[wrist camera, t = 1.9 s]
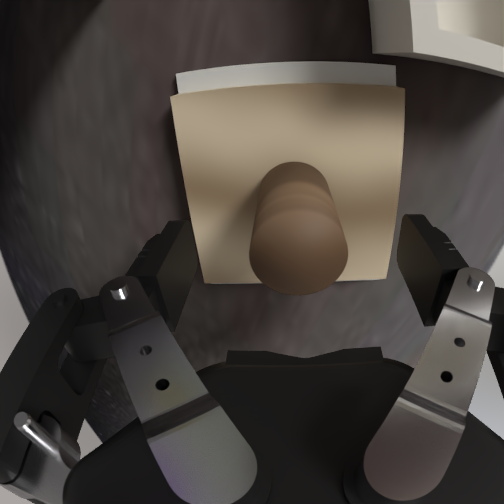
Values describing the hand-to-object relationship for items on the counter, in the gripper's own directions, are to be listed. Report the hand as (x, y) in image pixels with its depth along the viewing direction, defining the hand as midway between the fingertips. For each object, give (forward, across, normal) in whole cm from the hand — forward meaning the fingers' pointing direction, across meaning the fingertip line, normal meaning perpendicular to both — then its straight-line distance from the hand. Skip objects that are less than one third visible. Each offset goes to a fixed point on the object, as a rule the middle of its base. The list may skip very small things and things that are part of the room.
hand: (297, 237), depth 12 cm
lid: (+4, 0, 0) cm, 5 cm away
